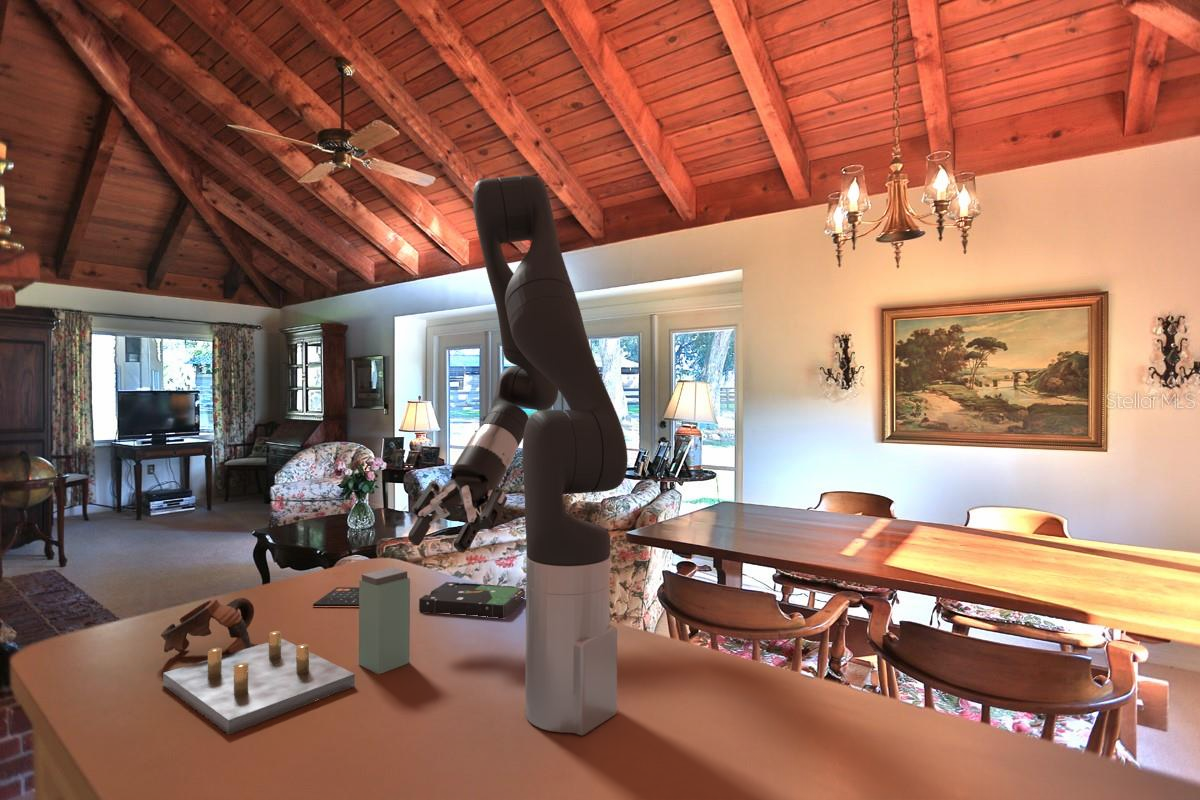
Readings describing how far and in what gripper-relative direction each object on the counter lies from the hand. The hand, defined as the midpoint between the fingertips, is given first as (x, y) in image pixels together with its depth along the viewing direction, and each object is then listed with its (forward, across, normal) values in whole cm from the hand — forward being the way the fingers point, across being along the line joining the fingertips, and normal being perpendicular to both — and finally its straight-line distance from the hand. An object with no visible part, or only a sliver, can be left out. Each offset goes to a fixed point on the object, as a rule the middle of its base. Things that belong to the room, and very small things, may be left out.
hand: (435, 546), depth 90 cm
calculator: (+4, -24, +16) cm, 29 cm away
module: (+16, 0, +3) cm, 16 cm away
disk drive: (0, -5, +20) cm, 21 cm away
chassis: (+24, -8, -6) cm, 26 cm away
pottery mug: (+22, -23, -3) cm, 32 cm away
